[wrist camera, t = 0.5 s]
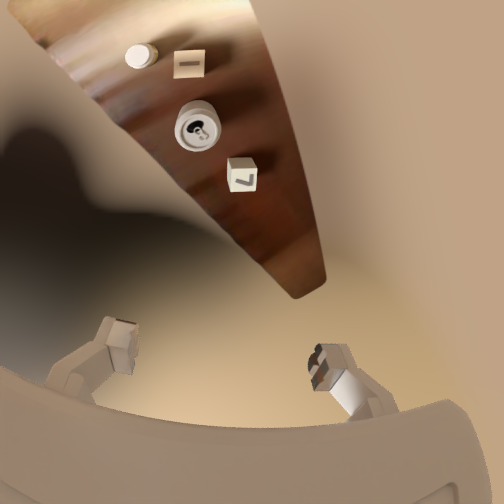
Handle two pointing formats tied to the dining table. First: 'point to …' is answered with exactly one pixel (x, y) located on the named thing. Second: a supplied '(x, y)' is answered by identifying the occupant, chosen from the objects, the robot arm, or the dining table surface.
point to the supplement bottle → (141, 55)
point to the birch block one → (189, 63)
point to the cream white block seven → (241, 174)
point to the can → (197, 126)
